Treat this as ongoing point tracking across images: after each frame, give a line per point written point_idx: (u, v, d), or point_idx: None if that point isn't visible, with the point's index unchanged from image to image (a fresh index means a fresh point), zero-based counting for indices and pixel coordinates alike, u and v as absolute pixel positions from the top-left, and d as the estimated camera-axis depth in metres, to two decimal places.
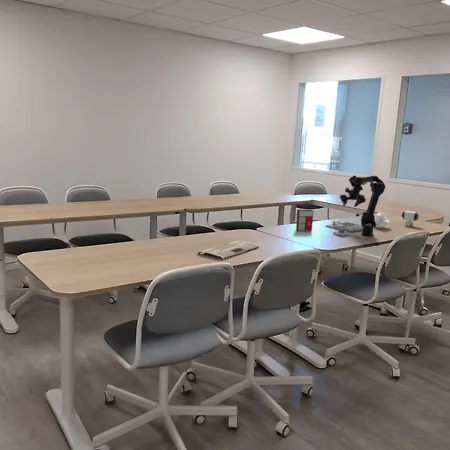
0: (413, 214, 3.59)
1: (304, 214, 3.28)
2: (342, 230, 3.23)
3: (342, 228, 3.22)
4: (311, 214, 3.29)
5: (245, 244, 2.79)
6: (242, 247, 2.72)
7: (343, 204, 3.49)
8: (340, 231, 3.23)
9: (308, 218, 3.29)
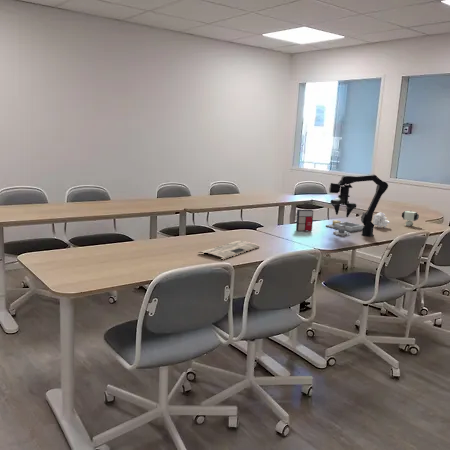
0: (413, 214, 3.59)
1: (304, 214, 3.28)
2: (342, 230, 3.23)
3: (342, 228, 3.22)
4: (311, 214, 3.29)
5: (246, 244, 2.79)
6: (243, 247, 2.72)
7: (348, 214, 3.19)
8: (340, 231, 3.23)
9: (308, 218, 3.29)
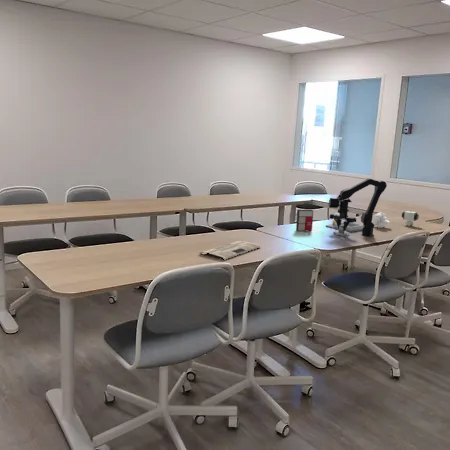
0: (413, 214, 3.59)
1: (304, 214, 3.28)
2: (342, 230, 3.23)
3: (342, 228, 3.22)
4: (311, 214, 3.29)
5: (247, 244, 2.78)
6: (244, 247, 2.71)
7: (345, 227, 3.22)
8: (340, 231, 3.23)
9: (308, 218, 3.29)
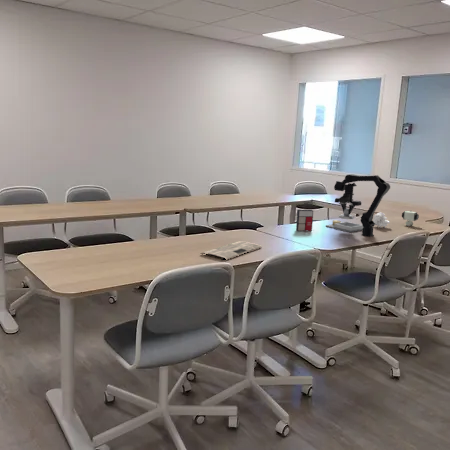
0: (413, 214, 3.59)
1: (304, 214, 3.28)
2: (347, 213, 3.31)
3: (347, 211, 3.31)
4: (311, 214, 3.29)
5: (248, 245, 2.78)
6: (245, 248, 2.71)
7: (350, 211, 3.30)
8: (345, 214, 3.31)
9: (308, 218, 3.29)
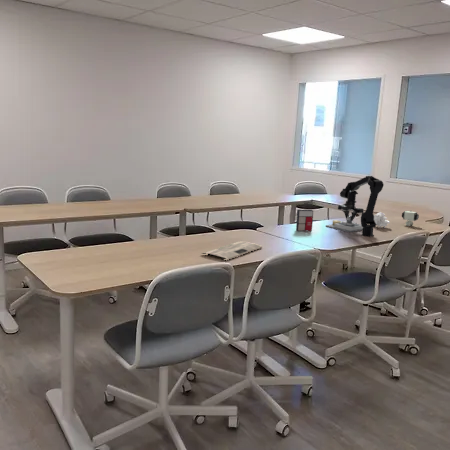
0: (413, 214, 3.59)
1: (304, 214, 3.28)
2: (350, 220, 3.40)
3: (350, 218, 3.40)
4: (311, 214, 3.29)
5: (249, 245, 2.78)
6: (246, 248, 2.70)
7: (353, 218, 3.40)
8: (348, 221, 3.41)
9: (308, 218, 3.29)
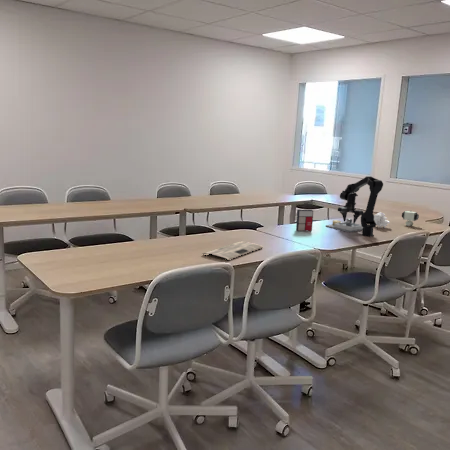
0: (413, 214, 3.59)
1: (304, 214, 3.28)
2: (349, 224, 3.41)
3: (349, 222, 3.41)
4: (311, 214, 3.29)
5: (249, 245, 2.77)
6: (246, 248, 2.70)
7: (355, 220, 3.39)
8: (347, 224, 3.42)
9: (308, 218, 3.29)
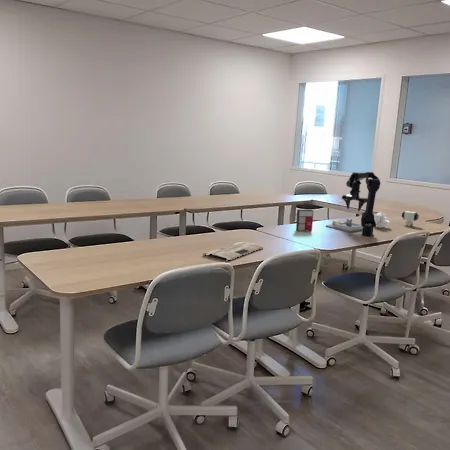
0: (413, 214, 3.59)
1: (304, 214, 3.28)
2: (349, 224, 3.41)
3: (349, 222, 3.41)
4: (311, 214, 3.29)
5: (250, 245, 2.77)
6: (247, 248, 2.70)
7: (360, 208, 3.42)
8: (347, 224, 3.42)
9: (308, 218, 3.29)
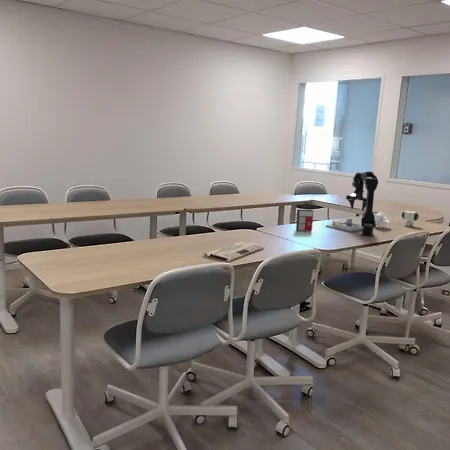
0: (413, 214, 3.59)
1: (304, 214, 3.28)
2: (349, 224, 3.41)
3: (349, 222, 3.41)
4: (311, 214, 3.29)
5: (250, 245, 2.77)
6: (248, 248, 2.69)
7: (364, 208, 3.46)
8: (347, 224, 3.42)
9: (308, 218, 3.29)
